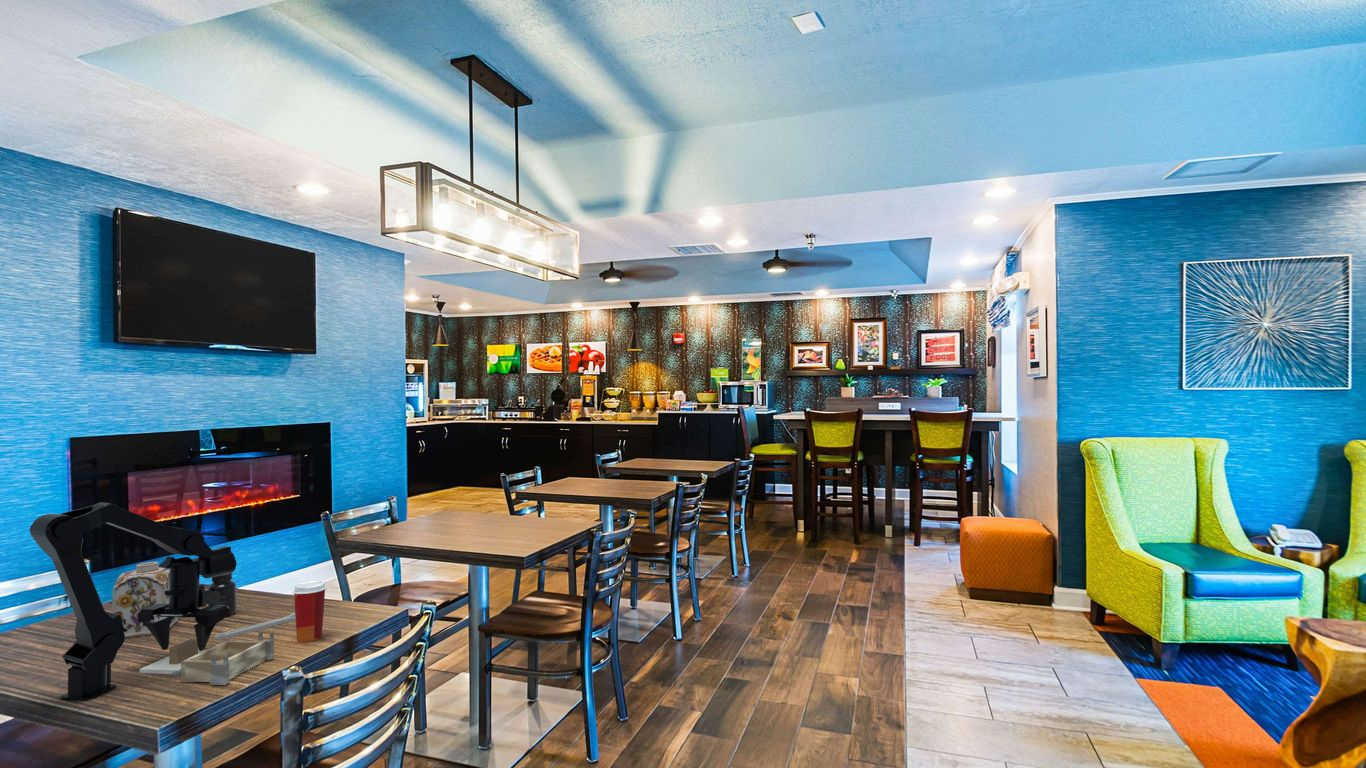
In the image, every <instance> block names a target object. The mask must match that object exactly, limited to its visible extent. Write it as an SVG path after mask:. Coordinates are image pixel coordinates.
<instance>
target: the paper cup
mask: <svg viewBox="0 0 1366 768" xmlns="http://www.w3.org/2000/svg"><path fill="white" fill-rule="evenodd" d="M326 589H327V586H326V584H325V582H324V581H320V580H314V581H312V580H311V581H306V582H301V583H297V584H296V585H295V586H294V588H293V590H292V593H293V597H294V598H293V599H294V613H295V619H296V622H295V630H296V631H295V632H296V633H295V634H296V641H297V642H298V643H301V642H303V644H304V643H311V642H316V641H318V640H321V638H322V635H323V624H324V622H323V621H324V614H325V613H324V611H325V596H326V595H325V594H326Z"/></svg>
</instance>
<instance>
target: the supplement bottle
mask: <svg viewBox="0 0 1366 768" xmlns="http://www.w3.org/2000/svg"><path fill="white" fill-rule="evenodd" d="M232 573H233V572H232ZM232 573H229V574H225V575H220V576H216V577H211V582H212V583H211V584H209V585H208V586H207V591H215V592H220V593H219V597H218V601H217V605H227V606H228V607H229V616H228V617H230V615H231V616H233V615H235V614H236V612H237V583H236V582H235V581H233V580H232V579H233V574H232ZM211 605H212V604H207V607H208V606H211ZM234 613H235V614H234Z"/></svg>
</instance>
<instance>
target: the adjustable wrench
mask: <svg viewBox="0 0 1366 768" xmlns="http://www.w3.org/2000/svg"><path fill="white" fill-rule="evenodd" d="M291 621H296V619H295V612H292V613H291V614H289V615H287V616H284V617H280V618H276V619H271V620H269V621H264V622H261V623H256V624H252V625H248V626H244V627H241V628H237V629H236V628H235V629H231V630H229V631H225V632H220V633H217V634H215V636H214V638H215V639H216V641H222V639H223V640H227V639H231V638H234V636H235V637H238V636H242V635H245V633H246V634H249V633H248V632H250V633H253V632H252V631H254V632H257V631H256V630H258V631H262V630H265V628H266V629H269V628H268V627H270V628H273V627H272V626H274V627H276V626H275V625H277V626H279V625H278V624H281V625H283V624H282V623H285V624H287V623H286V622H290V623H292V622H291ZM261 629H262V630H261ZM241 634H242V635H241ZM237 635H238V636H237ZM230 637H231V638H230ZM226 638H227V639H226Z"/></svg>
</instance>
